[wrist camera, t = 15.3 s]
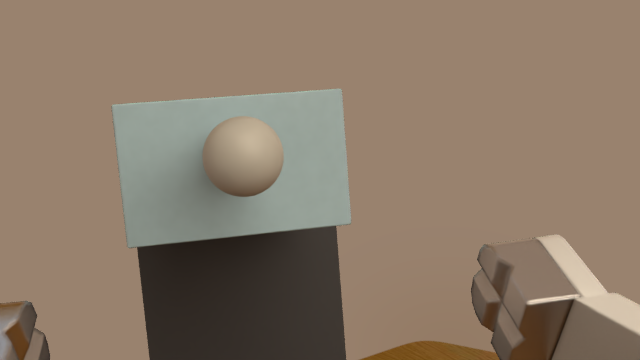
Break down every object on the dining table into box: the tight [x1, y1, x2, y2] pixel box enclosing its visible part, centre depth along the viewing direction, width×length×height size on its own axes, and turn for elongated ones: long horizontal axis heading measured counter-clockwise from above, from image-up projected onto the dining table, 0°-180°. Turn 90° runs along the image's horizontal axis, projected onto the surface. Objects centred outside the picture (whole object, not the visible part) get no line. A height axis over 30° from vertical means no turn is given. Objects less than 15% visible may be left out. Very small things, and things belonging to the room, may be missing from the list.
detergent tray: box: [112, 89, 351, 248], centre depth 24 cm, size 9×20×6 cm, turn 10°
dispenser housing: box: [137, 226, 346, 360], centre depth 39 cm, size 11×11×26 cm
